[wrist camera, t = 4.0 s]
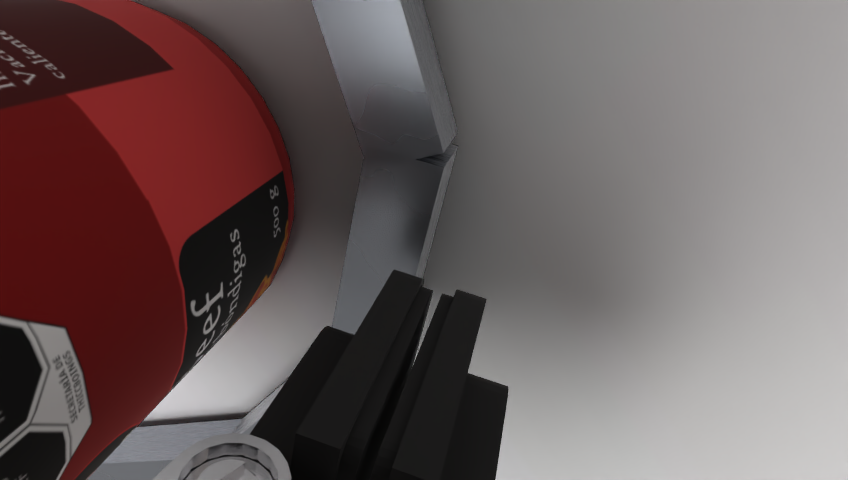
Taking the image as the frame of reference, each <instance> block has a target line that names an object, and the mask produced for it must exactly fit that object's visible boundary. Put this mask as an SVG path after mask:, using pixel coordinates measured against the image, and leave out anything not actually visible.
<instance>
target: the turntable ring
mask: <svg viewBox="0 0 848 480" xmlns="http://www.w3.org/2000/svg"><path fill="white" fill-rule="evenodd" d="M311 1H312V4H313V7H314V10H315V13H316V16H317V19H318V22H319V25H320V28H321V31H322V34H323V37H324V40H325V43H326V46H327V49H328V52H329V55H330V58H331V61H332V64H333V67H334V70H335V73H336V76H337V79H338V82H339V85H340V88H341V91H342V94H343V97H344V100H345V103H346V106H347V109H348V112H349V115H350V117H351V120H352V123H353V126H354V129H355V132H356V135H357V138H358V141H359V144H360V147H361V150H362V153H363V156H364V160H363V165H362V170H361V176H360V181H359V186H358V192H357V197H356V202H355V208H354V213H353V218H352V224H351V229H350V234H349V239H348V245H347V250H346V255H345V261H344V266H343V271H342V277H341V282H340V287H339V293H338V298H337V303H336V309H335V314H334V319H333V325H332V327H333V328H336V329H339V330H342V331H345V332H348V333H351V334H353V335H355V333H356V332H357V330H358V328H359V327H360V325H361V323H362V322H363V320H364V318H365V316H366V315H367V313H368V311H369V310H370V308H371V306H372V305H373V303H374V301H375V300H376V298H377V296H378V295H379V293H380V291H381V290H382V288H383V286H384V285H385V283H386V281H387V280H388V278H389V276H390V275H391V273H392V271H393V270H398V271H401V272H404V273H407V274H410V275H413V276H417V277H420V278H423V275H424V271H425V268H426V264H427V260H428V257H429V253H430V249H431V245H432V242H433V238H434V234H435V230H436V227H437V223H438V219H439V216H440V212H441V208H442V204H443V201H444V197H445V193H446V189H447V186H448V182H449V178H450V175H451V171H452V167H453V163H454V160H455V156H456V152H457V148H458V146H457V145H453V144H450V143H451V142H452V140H453V139H454V137H455V136H456V135H457V133H458V130H457V126H456V123H455V119H454V115H453V111H452V108H451V104H450V100H449V97H448V93H447V89H446V86H445V82H444V78H443V74H442V71H441V67H440V63H439V60H438V56H437V52H436V49H435V45H434V41H433V37H432V34H431V30H430V26H429V23H428V19H427V15H426V12H425V8H424V4H423V0H311ZM285 383H286V381H285V382H284V383H283V384H282V385H281V386H280V387H279V388H277V389H276V390H275V391H274V392H273V393H272V394H270V395H269V396H268V397H267V398H266V399H265V400H263V401H262V402H261V403H260V404H259V405H258V406H256V407H255V408H254V409H253V410H252V411H251V412H249V413H248V414H247V415H246V416H245V417H244V418H243V419H234V420H222V421H209V422H197V423H184V424H172V425H159V426H146V427H136V428H135V429H134V430H133V431H132V432H131V433H130V434H129V436H128V437H127V438H126V439H125V440H124V441H123V442H122V443H121V444H120V445H119V446H118V447H117V448H116V449H115V450H114V451H113V452H112V453H111V455H110V456H109V457H108V458H107V459H106V460H105V461H104V462H103V463H102V464H101V465H100V466H99V467H98V468H97V469H96V470H95V471H94V472H93V474H92V475H91V476H90V477H89V478H88V479H87V480H152V479H153V478H154V477H156V476H157V475H158V474H159V473H160V472H161V471H162V470H163V469H164V468H165V467H166V466H167V465H168V464H169V463H170V462H172V461H173V460H174V459H175V458H176V457H177V456H178V455H179V454H180V453H182V452H183V451H184V450H186V449H187V448H189V447H190V446H191V445H193V444H194V443H196V442H198V441H201V440H203V439H206V438H208V437H211V436H214V435H221V434H228V433H238V434H250V433H251V431H252V430H253V429H254V427H255V426H256V424H257V423H258V421H259V420H260V418H261V417H262V416H263V414H264V413H265V411H266V410H267V408H268V407H269V406H270V404H271V403H272V401H273V400H274V398H275V397H276V395H277V394H278V393H279V391H280V390H281V388H282V387H283V385H284V384H285Z"/></svg>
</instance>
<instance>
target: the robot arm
mask: <svg viewBox="0 0 848 480" xmlns="http://www.w3.org/2000/svg"><path fill="white" fill-rule="evenodd" d="M423 283H424V279H423V278H420V277H417V276H413V275H410V274H407V273H404V272H401V271H398V270H393V271H392V273H391V275H390V276H389V278H388V280H387V281H386V283H385V285H384V286H383V288H382V290H381V291H380V293H379V295H378V296H377V298H376V300H375V301H374V303H373V305H372V306H371V308H370V310H369V311H368V313H367V315H366V316H365V318H364V320H363V322H362V323H361V325H360V327H359V328H358V330H357V332H356V333H355V335H353V334H351V333H348V332H345V331H342V330H339V329H336V328H333V327H330V326H327V327H325V328H324V329H323V330H322V331H321V332H320V334H319V335H318V337H317V338H316V339H315V341H314V342H313V344H312V345H311V347H310V348H309V350H308V351H307V352H306V354H305V355H304V357H303V358H302V360H301V361H300V362H299V364H298V365H297V367H296V368H295V370H294V371H293V372H292V374H291V375H290V377H289V378H288V380H287V381H286V383H285V384H284V385H283V387H282V388H281V390H280V391H279V393H278V394H277V395H276V397H275V398H274V400H273V401H272V403H271V404H270V406H269V407H268V408H267V410H266V411H265V413H264V414H263V416H262V417H261V418H260V420H259V421H258V423H257V424H256V426H255V427H254V429H253V430H252V431H251V433H250V434H238V433H228V434H221V435H214V436H211V437H208V438H206V439H203V440H201V441H198V442H196V443H194V444H193V445H191V446H190V447H189V448H187V449H186V450H184V451H183V452H182V453H180V454H179V455H178V456H177V457H176V458H175V459H174V460H173V461H172V462H170V463H169V464H168V465H167V466H166V467H165V468H164V469H163V470H162V471H161V472H160V473H159V474H158V475H157V476H156V477H154V478H153V479H152V480H495V478H496V471H497V464H498V458H499V451H500V444H501V438H502V431H503V424H504V418H505V411H506V404H507V398H508V386H505V385H502V384H499V383H496V382H493V381H490V380H487V379H484V378H481V377H478V376H475V375H472V374H469V373H468V369H469V365H470V361H471V357H472V353H473V349H474V346H475V342H476V338H477V334H478V330H479V326H480V322H481V319H482V315H483V311H484V307H485V303H486V299H485V298H482V297H479V296H476V295H473V294H469V293H466V292H463V291H460V290H456V292H455V295H454V297H452V296H449V295H445V294H442V295H441V298H440V300H439V303H438V305H437V308H436V310H435V313H434V315H433V317H432V320H431V322H430V325H429V327H428V330H427V332H426V335H425V337H424V340H423V342H422V345H421V347H420V350H419V352H418V355H417V357H416V360H415V362H414V359H415V355H416V352H417V348H418V344H419V341H420V337H421V334H422V330H423V326H424V323H425V319H426V316H427V312H428V308H429V305H430V301H431V297H432V293H433V290H430V289H427V288H424V287H423ZM413 363H414V365H413ZM412 366H413V367H412Z"/></svg>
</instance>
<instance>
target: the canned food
mask: <svg viewBox="0 0 848 480" xmlns="http://www.w3.org/2000/svg"><path fill="white" fill-rule="evenodd" d="M293 219H294V184H293V178H292V172H291V166H290V160H289V157H288V154H287V151H286V148H285V145H284V142H283V139H282V136H281V134H280V131H279V128H278V126H277V124H276V122H275V120H274V118H273V116H272V115H271V113H270V111H269V109H268V107H267V105H266V103H265V101H264V100H263V98H262V96H261V95H260V94H259V92H258V91H257V90H256V88H255V87H254V86H253V84H252V83H251V82H250V80H249V79H248V78H247V76H246V75H245V74H244V72H243V71H242V70H241V68H240V67H239V66H238V65H237V64H236V63H235V62H234V61H232V60H231V59H230V58H229V57H228V56H227V55H226V54H225V53H224V52H223V51H222V50H221V49H220V48H219V47H218V46H217V45H216V44H215V43H213V42H212V41H211V40H209V39H208V38H206V37H205V36H203V35H202V34H200V33H199V32H198V31H196V30H195V29H193V28H192V27H190V26H189V25H187V24H186V23H183V22H181V21H179V20H177V19H174V18H172V17H170V16H168V15H165V14H163V13H161V12H159V11H156V10H154V9H151V8H149V7H146V6H144V5H141V4H138V3H136V2H133V1H130V0H0V480H87V479H88V478H89V477H90V476H91V475H92V474H93V472H94V471H95V470H96V469H97V468H98V467H99V466H100V465H101V464H102V463H103V462H104V461H105V460H106V459H107V458H108V457H109V456H110V455H111V453H112V452H113V451H114V450H115V449H116V448H117V447H118V446H119V445H120V444H121V443H122V442H123V441H124V440H125V439H126V438H127V437H128V436H129V434H130V433H131V432H132V431H133V430H134V429H135V428H136V427H137V426H138V425H139V424H140V423H141V422H142V421H143V420H144V419H145V418H146V417H147V415H148V414H149V413H150V412H151V411H152V410H153V409H154V408H155V407H156V406H157V405H158V404H159V403H160V402H161V401H162V400H163V399H164V398H165V397H166V395H167V394H168V393H169V392H170V391H171V390H172V389H173V388H174V387H175V386H176V385H177V384H178V383H179V382H180V381H181V380H182V379H183V378H184V376H185V375H186V374H187V373H188V372H189V371H190V370H191V369H192V368H193V367H194V366H195V365H196V364H197V363H198V362H199V361H200V360H201V359H202V357H203V356H204V355H205V354H206V353H207V352H208V351H209V350H210V349H211V348H212V347H213V346H214V345H215V344H216V343H217V342H218V341H219V340H220V339H221V337H222V336H223V335H224V334H225V333H226V332H227V331H228V330H229V329H230V328H231V327H232V326H233V325H234V324H235V323H236V322H237V321H238V320H239V318H240V317H241V316H242V315H243V314H244V313H245V312H246V311H247V310H248V309H249V308H250V307H251V306H252V305H253V304H254V303H255V301H256V300H257V299H258V298H259V297H260V296H261V295H262V294H263V292H264V291H265V290H266V289H267V288H268V287H269V286H270V284H271V282H272V280H273V278H274V276H275V274H276V272H277V270H278V268H279V266H280V264H281V262H282V259H283V256H284V253H285V250H286V247H287V244H288V240H289V236H290V232H291V227H292V223H293Z"/></svg>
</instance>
